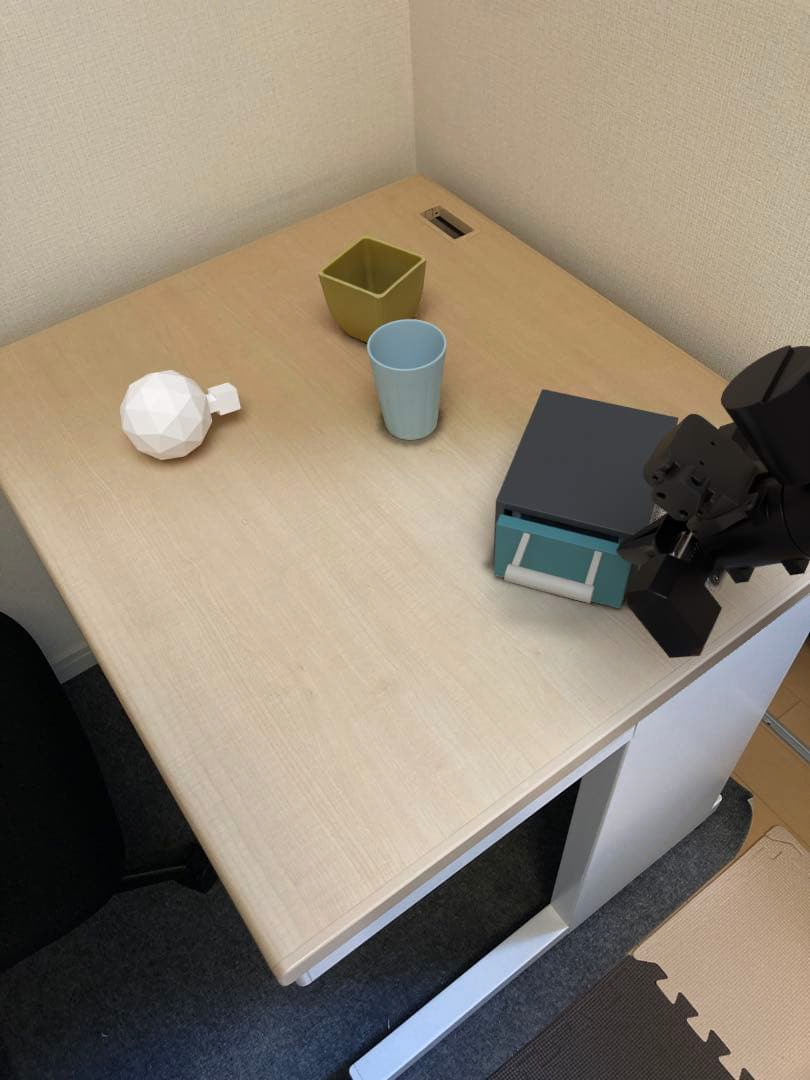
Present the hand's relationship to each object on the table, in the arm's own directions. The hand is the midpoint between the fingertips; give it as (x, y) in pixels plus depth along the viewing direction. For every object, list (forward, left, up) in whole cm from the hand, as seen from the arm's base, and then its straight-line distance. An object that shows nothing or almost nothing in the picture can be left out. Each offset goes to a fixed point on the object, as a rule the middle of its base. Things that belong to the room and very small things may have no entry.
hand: (620, 551), depth 70 cm
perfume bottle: (+46, -9, -11) cm, 48 cm away
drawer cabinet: (+5, -11, -11) cm, 16 cm away
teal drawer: (+5, -6, -10) cm, 13 cm away
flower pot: (+34, -32, -11) cm, 48 cm away
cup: (+25, -19, -11) cm, 33 cm away
